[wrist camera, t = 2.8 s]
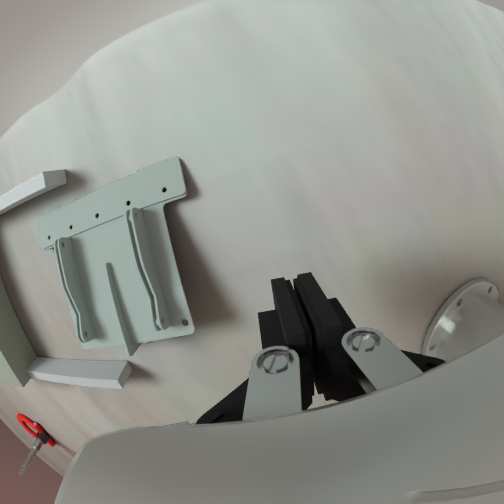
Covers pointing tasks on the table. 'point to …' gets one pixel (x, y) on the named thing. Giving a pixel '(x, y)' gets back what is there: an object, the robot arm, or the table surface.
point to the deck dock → (15, 340)
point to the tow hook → (40, 439)
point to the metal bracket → (121, 260)
